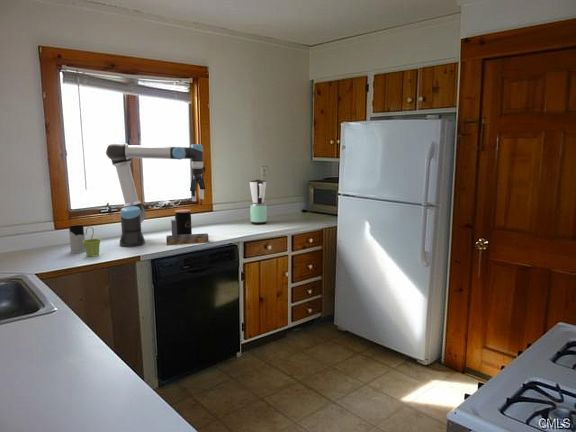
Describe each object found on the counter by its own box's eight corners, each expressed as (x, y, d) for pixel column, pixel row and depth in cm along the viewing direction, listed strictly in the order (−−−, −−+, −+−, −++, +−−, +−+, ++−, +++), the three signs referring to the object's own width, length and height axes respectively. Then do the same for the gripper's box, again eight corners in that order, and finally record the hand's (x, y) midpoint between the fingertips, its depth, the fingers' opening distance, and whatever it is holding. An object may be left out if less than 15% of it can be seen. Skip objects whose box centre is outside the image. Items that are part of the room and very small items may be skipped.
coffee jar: (187, 238, 294) (186, 211, 292) (173, 237, 297) (171, 211, 294) (194, 235, 305) (193, 209, 302) (180, 234, 307) (178, 209, 304)
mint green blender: (247, 222, 356) (246, 179, 350) (263, 221, 360) (262, 178, 355) (254, 226, 338) (253, 180, 333) (270, 225, 343) (270, 180, 337)
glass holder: (67, 251, 258) (65, 226, 256) (91, 247, 269) (89, 223, 266) (73, 253, 252) (71, 228, 250) (98, 249, 263) (96, 225, 261)
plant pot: (94, 258, 242) (93, 242, 241) (80, 257, 245) (78, 241, 244) (105, 254, 251) (104, 239, 250) (91, 253, 254) (90, 238, 252)
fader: (172, 238, 276) (171, 220, 275) (172, 237, 281) (171, 219, 279) (177, 238, 277) (176, 220, 275) (177, 236, 282) (176, 219, 280)
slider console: (166, 245, 274) (166, 238, 273) (166, 242, 283) (166, 235, 282) (208, 242, 280) (208, 235, 279) (207, 239, 289) (207, 233, 288)
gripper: (195, 168, 275) (196, 202, 279) (209, 167, 300) (210, 198, 303) (184, 168, 277) (185, 202, 280) (199, 167, 301) (199, 198, 304)
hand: (198, 200), depth 291 cm, fingers open, 13 cm apart
